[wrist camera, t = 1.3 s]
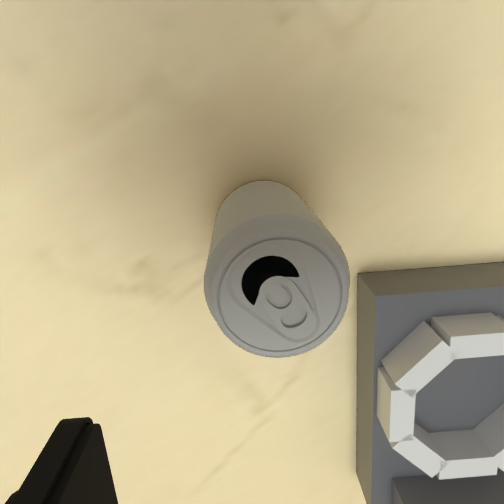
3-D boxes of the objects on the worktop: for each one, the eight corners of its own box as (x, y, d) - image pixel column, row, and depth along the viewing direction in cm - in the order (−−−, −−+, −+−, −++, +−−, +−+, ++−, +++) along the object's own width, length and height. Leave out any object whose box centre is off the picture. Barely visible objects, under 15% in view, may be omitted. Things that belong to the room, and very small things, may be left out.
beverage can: (276, 159, 27) (305, 188, 15) (326, 238, 29) (386, 316, 17) (196, 213, 28) (168, 279, 16) (250, 286, 29) (258, 392, 18)
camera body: (357, 273, 29) (396, 323, 22) (510, 261, 29) (599, 307, 22) (356, 472, 35) (387, 565, 28) (485, 461, 35) (550, 551, 28)
